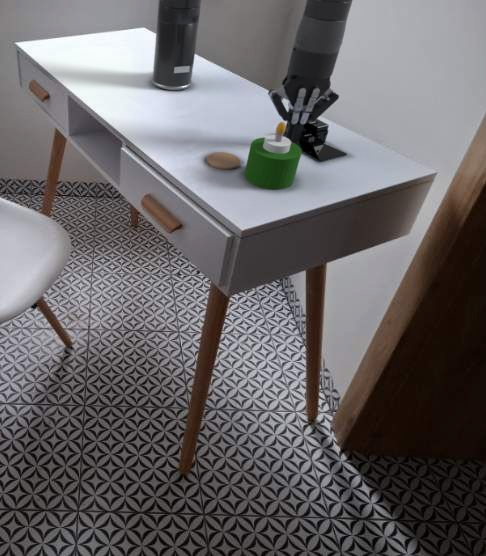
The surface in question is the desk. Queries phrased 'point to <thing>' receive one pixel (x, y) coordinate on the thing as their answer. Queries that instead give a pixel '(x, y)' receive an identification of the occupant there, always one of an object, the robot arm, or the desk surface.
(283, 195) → the desk surface
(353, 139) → the desk surface
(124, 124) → the desk surface
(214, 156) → the coaster
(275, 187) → the candle
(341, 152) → the build plate
